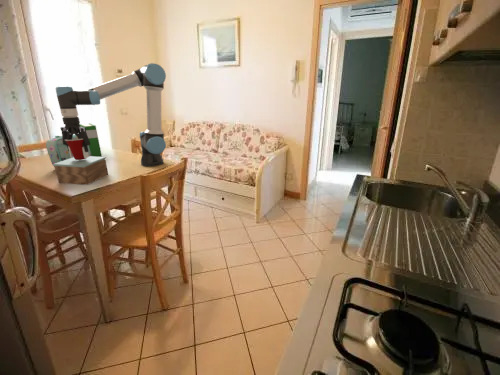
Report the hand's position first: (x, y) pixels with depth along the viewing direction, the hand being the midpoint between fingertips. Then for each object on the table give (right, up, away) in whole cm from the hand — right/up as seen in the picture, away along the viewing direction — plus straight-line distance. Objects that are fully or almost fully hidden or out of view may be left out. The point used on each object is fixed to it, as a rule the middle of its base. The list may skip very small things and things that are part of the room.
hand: (79, 157), depth 149 cm
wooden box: (0, -12, +5) cm, 13 cm away
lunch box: (-25, -2, +32) cm, 41 cm away
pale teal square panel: (0, -3, +1) cm, 3 cm away
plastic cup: (0, -1, 0) cm, 1 cm away
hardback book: (-28, +8, +59) cm, 66 cm away
